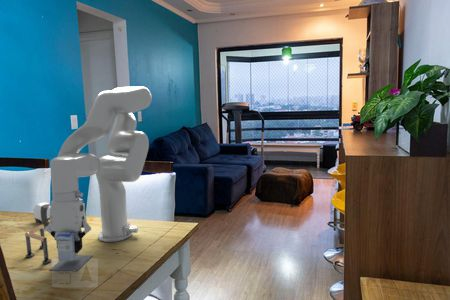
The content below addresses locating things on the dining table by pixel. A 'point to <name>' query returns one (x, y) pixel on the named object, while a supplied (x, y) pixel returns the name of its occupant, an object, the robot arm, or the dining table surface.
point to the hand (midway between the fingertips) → (70, 250)
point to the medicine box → (66, 246)
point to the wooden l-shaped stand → (38, 237)
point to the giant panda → (42, 213)
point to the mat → (71, 263)
